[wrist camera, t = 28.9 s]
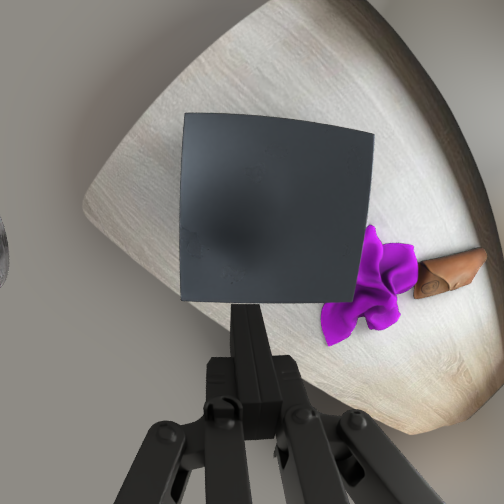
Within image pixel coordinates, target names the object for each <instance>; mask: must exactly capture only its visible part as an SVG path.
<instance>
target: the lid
mask: <svg viewBox="0 0 504 504" xmlns="http://www.w3.org/2000/svg"><path fill="white" fill-rule="evenodd" d="M374 139H375V134H372V133H368V132H363V131H359V130H354V129H349V128H344V127H339V126H333V125H328V124H322V123H316V122H309V121H302V120H295V119H287V118H279V117H269V116H258V115H245V114H227V113H185V115H184V127H183V141H182V157H181V179H180V219H179V252H180V292H181V301H192V302H220V303H340V302H352V301H353V296H354V292H355V287H356V282H357V277H358V272H359V267H360V261H361V255H362V249H363V243H364V237H365V230H366V223H367V216H368V208H369V200H370V191H371V181H372V169H373V156H374Z"/></svg>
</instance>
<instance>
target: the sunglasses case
mask: <svg viewBox="0 0 504 504" xmlns="http://www.w3.org/2000/svg"><path fill="white" fill-rule="evenodd" d="M486 259H487V254H486V252H485V250H484V249H483V248H482V247H478V248H474V249H471V250H468V251H464V252H461V253H456V254H453V255H448V256H444V257H439V258H435V259H430V260H425V261H422V262H420V263H418V280H417V282H416V284H415V285H414V293H413V296H414V299H420V298H425V297H429V296H433V295H437V294H440V293H443V292H446V291H449V290H450V291H452V290H455V289H458V288H459V287H462V286H465V285H468V284H470V283H471V282H472V280H473V278H474V277H475V275H476V274H477V272H478V270H479V268H480V267H481V266H482V265H483V263H484V262H485V261H486Z"/></svg>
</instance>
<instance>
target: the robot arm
mask: <svg viewBox="0 0 504 504" xmlns="http://www.w3.org/2000/svg"><path fill="white" fill-rule="evenodd" d="M230 353H231V357H211V359H210V361H209V362H208V364H207V373H206V402H205V404H204V408H203V409H204V415H203V416H202V417H201V418H200V419H199V420H197V421H195V422H192V423H189V424H185V425H179V424H177V423H175V422H173V421H160V422H157V423H155V424H154V425H152V426H151V428H150V429H149V430H148V433H147V435H146V437H145V439H144V441H143V443H142V445H141V447H140V449H139V451H138V453H137V455H136V457H135V460H134V462H133V464H132V466H131V468H130V470H129V472H128V474H127V476H126V478H125V480H124V483H123V485H122V487H121V489H120V491H119V493H118V495H117V498H116V500H115V502H114V504H181V501H182V498H183V495H184V492H185V489H186V486H187V483H188V480H189V477H190V474H191V471H192V470H193V469H197V468H201V467H205V492H206V504H252V498H251V490H250V482H249V475H248V467H247V459H246V450H245V442H244V440H261V439H274V436H275V434H276V439H277V444H276V447H275V451H274V457H276V456H277V458H278V464H279V469H280V473H281V479H282V484H283V489H284V494H285V499H286V503H287V504H350V503H349V500H348V497H347V494H346V491H347V493H348V494H349V496H350V497H351V498H352V500H353V501H354V503H355V504H446V503H445V502H444V501H443V500H442V499H441V498H440V496H439V495H438V494H437V493H436V492H435V491H434V490H433V488H432V487H431V486H430V485H429V484H428V483H427V482H426V480H424V478H423V477H422V476H421V475H420V474H419V472H418V471H417V470H416V469H415V468H414V467H413V466H412V464H411V463H410V462H409V461H408V460H407V459H406V457H405V456H404V455H403V454H402V453H401V452H400V450H399V449H398V448H397V447H396V446H395V445H394V443H393V442H392V441H391V440H390V439H389V438H388V437H387V435H386V434H385V433H384V432H383V431H382V429H381V428H380V427H379V426H378V425H377V424H376V422H375V421H374V420H373V419H372V418H371V416H370V415H369V414H367V413H366V412H364V411H362V410H358V409H352V410H348V411H346V412H345V413H343V415H342V416H334V415H327V414H322V413H320V412H318V411H317V410H316V409H315V408H314V407H312V406H311V404H310V402H309V399H308V396H307V393H306V390H305V387H304V384H303V381H302V379H301V375H300V372H299V369H298V366H297V363H296V361H295V360H294V359H293V358H292V357H291V356H290V355H278V356H272V354H271V350H270V346H269V342H268V337H267V333H266V329H265V325H264V321H263V317H262V313H261V309H260V304H231V321H230ZM345 490H346V491H345Z"/></svg>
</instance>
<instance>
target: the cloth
mask: <svg viewBox="0 0 504 504" xmlns="http://www.w3.org/2000/svg"><path fill="white" fill-rule="evenodd" d="M417 280H418V263H417V259H416V256H415V253H414V246H412V245H409V244H401V243H389V244H384V245H382V243H381V241H380V240H379V238H378V237H377V235H376V230H375V227H374V226H372V225H369V226H368V227H367V228H366V230H365V237H364V243H363V249H362V255H361V261H360V267H359V272H358V277H357V282H356V287H355V292H354V296H353V301H352V302H340V303H325V304H324V306H323V308H322V311H321V326H322V331H323V333H324V336H325V339H326V342H327V344H328V346H332V345H334V344H336V343H338V342H340V341H342V340H344V339H346V338H348V337H349V336H350V335H351V332H352V331H353V329H354V328H355V326H356V323H357V320H358V318H359V317H365V318H366V322H367V325H368V327H369V329H371V330H372V329H375V330H384V329H386V328H388V327H389V326H391V325H392V324H394V323H395V322H397V320H398V319H399V317H400V315H401V314H400V313H399V311H398V305H397V302H396V301H397V296H396V294H401V293H404V292H406V291H408V290H409V289H411V288H412V287H413V286H414V285H415V284H416V282H417Z"/></svg>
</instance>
